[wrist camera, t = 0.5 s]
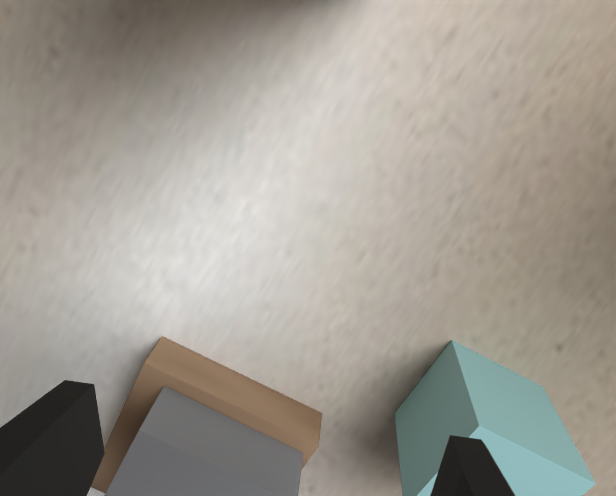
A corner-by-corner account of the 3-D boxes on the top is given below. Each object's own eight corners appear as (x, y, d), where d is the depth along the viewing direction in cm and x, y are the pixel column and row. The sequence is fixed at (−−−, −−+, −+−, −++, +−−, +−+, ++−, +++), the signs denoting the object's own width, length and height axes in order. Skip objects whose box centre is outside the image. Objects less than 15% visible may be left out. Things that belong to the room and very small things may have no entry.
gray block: (239, 539, 23) (225, 594, 21) (113, 482, 22) (85, 532, 20) (303, 453, 20) (296, 504, 18) (164, 385, 20) (139, 430, 17)
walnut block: (251, 508, 26) (241, 553, 23) (112, 444, 25) (87, 485, 22) (322, 405, 23) (318, 445, 20) (166, 329, 22) (143, 362, 19)
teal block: (479, 454, 22) (511, 560, 18) (394, 412, 22) (404, 509, 17) (542, 385, 20) (595, 483, 16) (451, 338, 20) (479, 425, 15)
